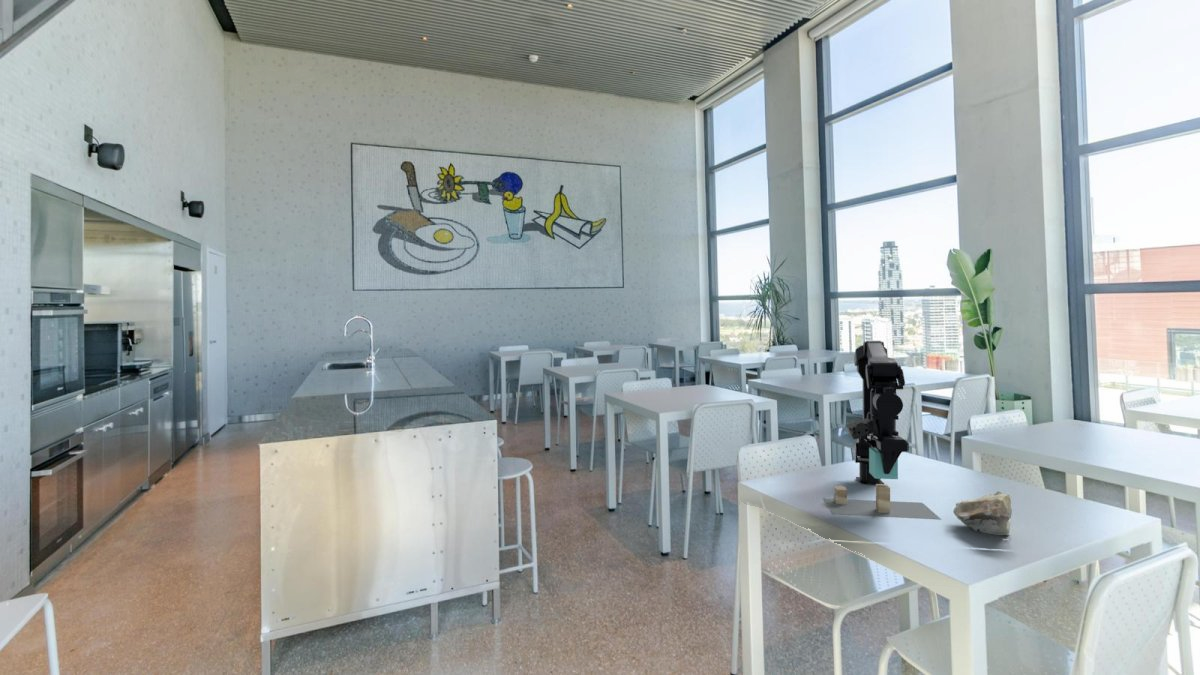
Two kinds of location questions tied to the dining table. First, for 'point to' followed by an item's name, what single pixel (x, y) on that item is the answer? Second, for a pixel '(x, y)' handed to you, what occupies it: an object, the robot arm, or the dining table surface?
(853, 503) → the mat
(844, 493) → the tan block
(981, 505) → the stone
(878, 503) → the post
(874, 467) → the teal rectangular block
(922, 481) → the dining table surface
